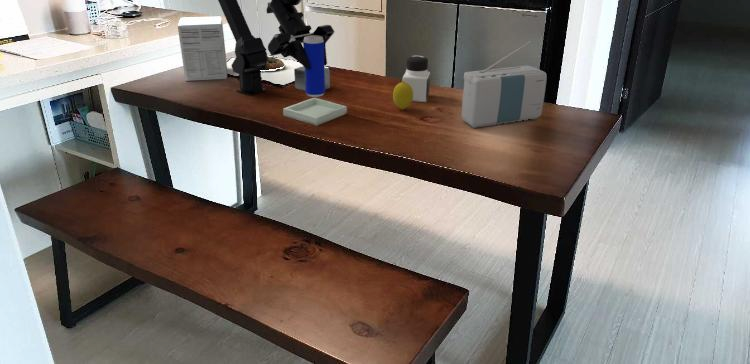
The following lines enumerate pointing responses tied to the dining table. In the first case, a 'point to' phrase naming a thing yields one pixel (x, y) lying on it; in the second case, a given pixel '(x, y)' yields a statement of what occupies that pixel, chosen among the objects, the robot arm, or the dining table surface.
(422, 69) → the medicine bottle
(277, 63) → the bread roll
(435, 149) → the dining table surface
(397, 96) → the lemon
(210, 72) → the supplement box
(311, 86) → the beverage can
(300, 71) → the box
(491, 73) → the stereo radio cassette player
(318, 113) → the tray
